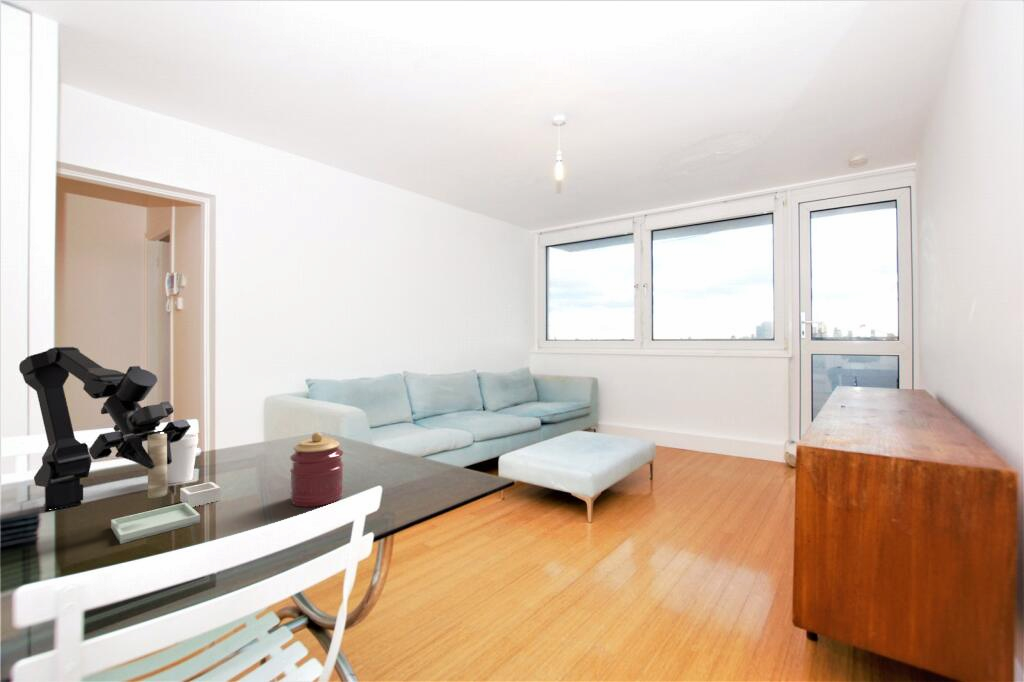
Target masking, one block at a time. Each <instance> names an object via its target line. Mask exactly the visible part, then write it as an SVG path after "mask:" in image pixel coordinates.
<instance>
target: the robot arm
mask: <svg viewBox="0 0 1024 682" xmlns="http://www.w3.org/2000/svg"><path fill="white" fill-rule="evenodd" d="M18 370H19V372H20V374H22V375H21V376H22V377H23V381H24V382H25V384H26V385H28V386H29V387H30V388H31V389H33V390H34V391H35V392H36V395H37V401H38V405H39V409H40V412H41V416H42V418H41V419H42V421H43V422H42V423H43V426H44V431H45V434H46V435H45V436H46V439H47V444H48V446H47V448H46V449H45V452H44V453H43V456H42V457H41V460H42V461H41V463H42V465H41V466H40V467H39V469H38V471H37V472H36V473H35V475H34V476H33V481H34V484H35V486H37V487H44V503H43V508H45V509H44V511H45V510H49V509H55V508H61V507H65V508H67V507H66V506H70V507H74V506H73V505H75V506H80V505H82V503H83V502H82V501H83V500H84V484H83V482H81V479H84V478H85V479H86V478H89V474H90V469H91V465H92V462H93V461H92V459H93V460H99V459H103V458H108V457H110V455H111V454H112V452H113V451H112V448H115V449H116V450H117V452H116V453H115V458H122V459H126V460H129V461H131V462H134V463H136V464H138V465H141V466H143V467H145V468H147V469H148V468H149V469H153V467H154V464H153V461H152V460H151V458H150V457H149V455H148V451H147V450H146V449H145V448H144V445H143V442H148V435H152V434H161V433H165V434H167V464H170V463H171V462H172V457H171V448H170V443H173V442H177V441H179V440H181V439H182V437H183V436H184V435H185V434H187V432H188V431H189V430H190V428H191V425H190V423H189V422H188V420H187V419H178V420H173V421H169V422H168V423H167V424H166V425H165V426H164V427H163V428H159V429H157V428H156V427H159V426H160V425H161V424H162V423H161V420H163V419H166V418H168V417H169V416H171V415H172V414H173V413H174V407H173V405H172V404H171V403H170V402H169V401H161V402H160V403H158V404H151V405H146V406H141V405H140V402H142V401H144V400H145V399H147V397H148V395H149V394H150V393H151V391H152V389H154V387H155V385H156V384H157V382H158V377H157V375H156V374H155V373H153V372H151V371H149V370H146V369H143V368H141V367H140V365H134V366H133V365H132V366H129V367H128V369H127V371H126V372H122V371H119V370H117V369H112V368H111V369H110V368H105V367H103V366H101V365H100V364H98V363H97V362H95V361H94V360H92V359H91V358H89V357H88V356H87V355H85V354H84V353H82V352H81V351H80V349H79V348H78V347H74V346H55V347H50V348H48V349H46V351H42V352H39V353H35V354H31V355H28V356H26V357H25V359H23V360H21V361H20V363H19V366H18ZM70 374H71V375H72V376H74V377H75V378H76V379H78V380H79V381H80V382H82V383H83V388H82V389H83V390H84V392H85V393H87V395H88V396H89V397H91V399H94V400H95V399H98V400H99V399H106V398H107V399H106V400H105V401H104V402H103V406H102V408H101V409H100V414H101V415H105V414H108V415H109V416H110V417H111V419H112V421H113V422H114V426H113V428H112V429H113V430H114V431H110V432H104V433H100V434H99V435H98V436H97V437H96V439H95V440H94V442H93V443H92V445H91V446H90V447H89V446H88V444H87V443H86V442H82V443H81V442H80V441H79V440H77V439H76V437H75V433H74V428H73V423H72V420H71V415H70V410H69V407H68V402H67V398H66V394H65V390H64V389H65V388H64V385H65V383H66V381H67V379H68V378H69V377H70ZM61 509H62V508H61Z"/></svg>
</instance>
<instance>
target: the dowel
mask: <svg viewBox="0 0 1024 682" xmlns="http://www.w3.org/2000/svg"><path fill="white" fill-rule="evenodd" d="M147 453H148V455H149V457H150V458H151V460H152V461H153V464H154V467H153V469H149V468H147V498H149V499H156V498H160V497H165V496H166V495H168V483H167V434H165V433H161V434H152V435H148V441H147Z"/></svg>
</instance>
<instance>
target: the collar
mask: <svg viewBox="0 0 1024 682" xmlns="http://www.w3.org/2000/svg"><path fill="white" fill-rule="evenodd" d="M179 492H180V497H179V498H180V501H181V502H182V503H185V502H186V503H187V504H189V505H190V506H191V507H192V508H195V506H196V507H199V505H200V506H205V505H208V504H207V503H209V504H212V503H211V502H213V503H216V501H217V502H220V501H221V487H220V486H219V485H217V484H216V483H214V482H213V481H210V482H209V481H208V482H204V483H200V484H196V485H190V486H185V487H180V488H179ZM181 502H180V503H181Z"/></svg>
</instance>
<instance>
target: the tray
mask: <svg viewBox="0 0 1024 682" xmlns="http://www.w3.org/2000/svg"><path fill="white" fill-rule="evenodd" d="M200 523H201V514H200V513H199V512H197V511H196V510H195V509H194V507H191V506H190V505H189V504H187V503H186V502H185V503H181V502H180V503H178V504H173V505H168V506H165V507H160V508H156V509H152V510H148V511H144V512H139V513H136V514H131V515H125V516H122V517H117V518H114V519H110V527H111V530H112V532H113V533H114V536H115V537H116V539H117V540H118V542H119V544H121V545H122V544H125V543H129V542H133V541H137V540H140V539H143V538H148V537H151V536H156V535H159V534H163V533H166V532H170V531H174V530H178V529H181V528H185V527H189V526H193V525H197V524H200Z"/></svg>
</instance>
